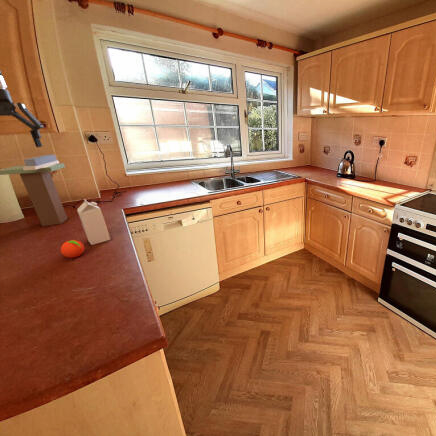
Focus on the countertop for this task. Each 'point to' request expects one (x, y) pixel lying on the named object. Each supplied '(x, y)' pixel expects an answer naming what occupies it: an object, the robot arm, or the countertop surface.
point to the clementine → (72, 248)
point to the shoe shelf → (42, 192)
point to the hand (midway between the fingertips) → (18, 147)
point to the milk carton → (93, 223)
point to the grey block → (40, 162)
